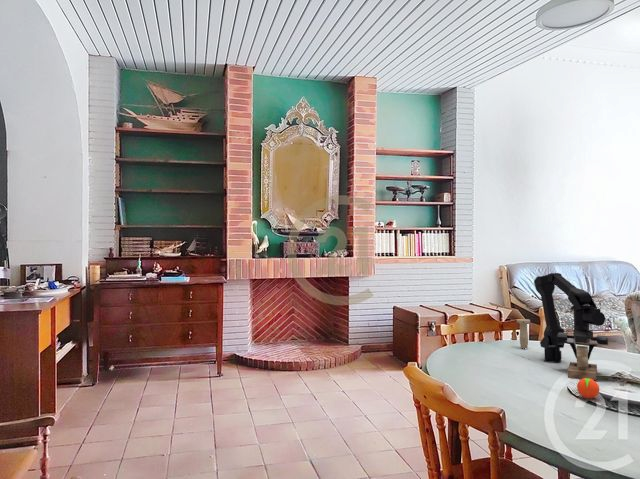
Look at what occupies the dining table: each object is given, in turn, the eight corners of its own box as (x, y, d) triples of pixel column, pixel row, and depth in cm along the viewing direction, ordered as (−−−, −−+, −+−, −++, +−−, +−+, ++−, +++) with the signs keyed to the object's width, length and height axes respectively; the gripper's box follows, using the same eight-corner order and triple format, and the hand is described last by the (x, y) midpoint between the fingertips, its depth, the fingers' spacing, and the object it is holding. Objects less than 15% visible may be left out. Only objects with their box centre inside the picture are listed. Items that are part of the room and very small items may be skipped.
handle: (531, 350, 239) (530, 320, 239) (517, 349, 241) (516, 320, 241) (530, 348, 243) (530, 319, 243) (517, 347, 246) (516, 318, 246)
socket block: (567, 377, 190) (567, 370, 190) (570, 368, 203) (570, 361, 203) (596, 380, 185) (596, 373, 185) (597, 371, 198) (596, 364, 198)
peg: (577, 366, 197) (576, 347, 197) (577, 364, 200) (577, 345, 200) (588, 367, 194) (587, 348, 195) (588, 365, 198) (587, 346, 198)
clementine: (599, 403, 160) (598, 382, 160) (576, 400, 164) (575, 379, 164) (599, 396, 167) (599, 376, 167) (577, 393, 171) (577, 374, 171)
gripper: (555, 323, 195) (556, 360, 195) (607, 326, 186) (608, 366, 186) (557, 319, 205) (558, 355, 205) (607, 322, 195) (608, 359, 195)
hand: (582, 358), depth 197 cm, fingers closed on peg, 4 cm apart
